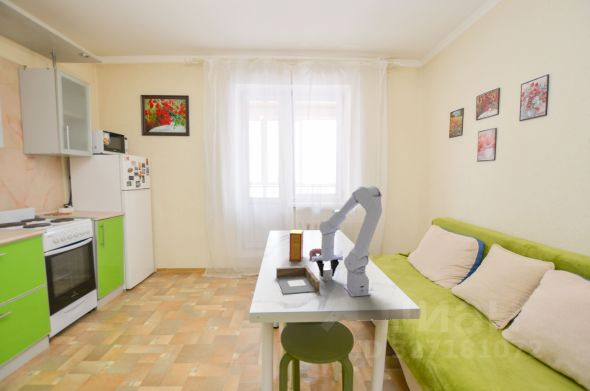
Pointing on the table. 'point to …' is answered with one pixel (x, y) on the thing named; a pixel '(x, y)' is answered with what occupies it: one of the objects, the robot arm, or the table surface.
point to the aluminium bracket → (327, 274)
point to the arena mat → (295, 285)
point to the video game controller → (314, 253)
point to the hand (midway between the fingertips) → (326, 275)
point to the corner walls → (299, 274)
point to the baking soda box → (296, 245)
